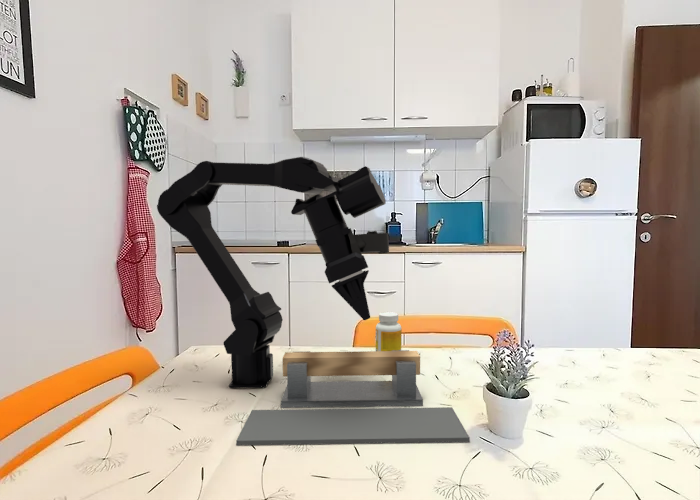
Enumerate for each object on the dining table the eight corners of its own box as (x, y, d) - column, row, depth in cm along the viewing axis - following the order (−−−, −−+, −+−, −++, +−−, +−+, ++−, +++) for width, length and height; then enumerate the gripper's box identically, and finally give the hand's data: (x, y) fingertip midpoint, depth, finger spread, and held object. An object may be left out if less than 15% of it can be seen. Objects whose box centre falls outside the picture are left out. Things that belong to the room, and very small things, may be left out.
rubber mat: (236, 445, 54) (236, 440, 54) (252, 413, 63) (252, 409, 63) (469, 442, 54) (469, 437, 54) (452, 411, 63) (452, 407, 63)
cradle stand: (280, 407, 65) (280, 366, 64) (288, 387, 73) (287, 350, 72) (423, 405, 65) (423, 364, 65) (414, 386, 73) (414, 349, 73)
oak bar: (282, 376, 67) (282, 358, 67) (285, 370, 70) (285, 352, 70) (420, 374, 67) (420, 356, 67) (417, 368, 70) (417, 350, 70)
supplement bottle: (370, 358, 88) (370, 313, 88) (388, 353, 92) (388, 310, 91) (388, 365, 84) (388, 317, 84) (406, 359, 88) (406, 314, 87)
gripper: (378, 201, 61) (420, 301, 60) (371, 218, 80) (403, 294, 79) (307, 230, 61) (348, 331, 60) (317, 240, 79) (349, 317, 79)
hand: (366, 316), depth 69 cm, fingers open, 9 cm apart
